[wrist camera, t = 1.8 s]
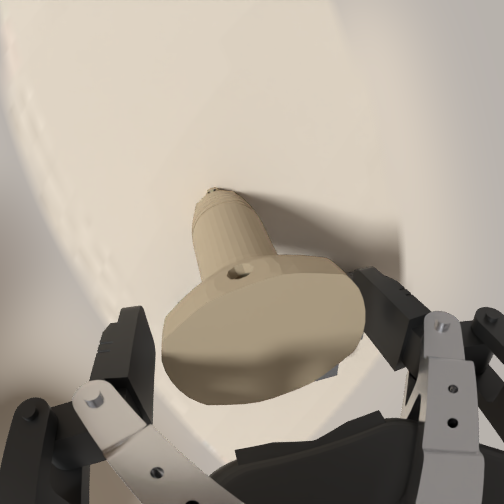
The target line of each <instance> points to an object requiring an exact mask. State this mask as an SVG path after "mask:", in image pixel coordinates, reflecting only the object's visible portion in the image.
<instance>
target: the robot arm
mask: <svg viewBox="0 0 504 504" xmlns="http://www.w3.org/2000/svg"><path fill="white" fill-rule="evenodd" d="M352 281H353V282H354V283H355V284H356V286H357V287H358V288H359V290H360V292H361V295H362V297H363V300H364V306H365V326H364V332H365V333H366V335H367V336H368V337H369V338H370V340H371V341H372V342H373V344H374V345H375V346H376V347H377V349H378V350H379V351H380V353H381V354H382V355H383V357H384V358H385V359H386V360H387V362H388V363H389V364H390V366H391V367H392V368H393V370H394V371H397V370H399V369H402V368H404V367H406V368H407V369H408V372H407V375H406V382H405V391H404V398H403V404H402V411H401V416H400V418H386V419H384V418H383V416H382V415H381V413H380V411H379V410H378V411H375V412H373V413H370V414H367V415H365V416H362V417H359V418H357V419H354V420H351V421H348V422H346V423H344V424H343V425H341V426H339V427H338V428H336V429H334V430H333V431H331V432H329V433H327V434H326V435H324V436H322V437H320V438H319V439H317V440H314V441H302V442H273V443H268V444H264V445H259V446H254V447H249V448H243V449H238V450H235V453H236V458H237V460H234V461H232V462H230V463H228V464H226V465H224V466H222V467H220V468H219V469H217V470H216V471H214V472H213V473H212V474H211V475H210V476H208V475H206V474H205V473H204V472H203V471H202V470H200V469H199V468H198V467H197V466H196V465H195V464H193V463H192V462H191V461H190V460H189V459H188V458H187V457H185V456H184V455H183V454H182V453H181V452H180V451H179V450H178V449H176V447H175V446H173V445H172V444H171V443H170V442H169V441H168V440H167V439H166V438H165V437H164V436H163V435H162V434H161V433H160V432H159V431H158V430H157V429H156V428H155V427H154V426H153V425H152V424H153V394H154V372H155V345H154V340H153V337H152V334H151V331H150V328H149V325H148V322H147V319H146V315H145V312H144V309H143V307H142V306H134V307H127V308H122V309H121V311H120V315H119V319H118V322H117V323H110V325H109V326H108V327H107V328H106V329H105V331H104V332H103V334H102V337H101V340H100V345H99V347H98V353H97V354H96V358H95V361H94V365H93V369H92V373H91V376H90V380H89V382H87V383H85V384H83V385H82V386H80V387H79V388H78V389H77V390H76V392H75V393H74V395H73V399H72V401H71V402H68V403H64V404H61V405H58V406H55V407H50V406H49V405H48V403H47V402H46V401H45V400H44V399H41V398H30V399H27V400H25V401H24V402H22V403H21V404H20V405H19V406H18V407H17V409H16V411H15V413H14V416H13V420H12V423H11V427H10V430H9V434H8V438H7V442H6V446H5V450H4V454H3V458H2V463H1V468H0V504H89V477H90V465H91V464H94V463H98V462H101V461H104V460H107V461H108V462H109V464H110V465H111V466H112V468H113V469H114V470H115V471H116V473H117V474H118V475H119V477H120V478H121V479H122V480H123V482H124V483H125V484H126V485H127V487H128V488H129V489H130V490H131V491H132V492H133V494H134V495H135V496H136V497H137V498H138V499H139V500H140V502H141V503H142V504H504V451H502V450H499V449H496V448H492V447H489V446H486V445H483V444H480V443H479V422H478V421H479V418H478V407H479V408H480V410H481V411H482V412H483V414H484V415H485V417H486V418H487V419H488V420H489V422H490V423H491V425H492V426H493V428H494V429H495V430H496V432H497V433H498V435H499V436H500V438H501V439H502V440H503V442H504V382H503V381H502V379H501V378H500V377H499V376H498V375H497V374H496V372H495V371H494V370H493V369H492V368H491V367H490V366H489V362H490V360H491V358H492V356H493V354H495V355H496V356H497V358H498V359H499V360H500V361H501V362H502V363H503V364H504V315H503V314H502V313H501V312H499V311H498V310H496V309H493V308H489V307H483V308H479V309H478V310H477V311H476V314H475V316H474V319H473V320H472V321H463V322H459V321H458V319H457V318H456V317H454V316H453V315H451V314H449V313H447V312H442V311H434V312H431V311H430V310H429V309H428V308H427V307H426V306H424V305H423V304H422V303H421V302H420V301H419V300H418V299H417V298H416V297H414V296H413V295H411V293H410V292H409V291H408V290H407V289H405V288H404V287H403V286H402V285H401V284H400V283H399V282H397V281H396V280H394V279H391V278H389V277H387V276H384V275H383V274H381V273H380V272H379V271H378V270H377V269H376V268H374V267H367V268H362V269H357V270H355V271H354V272H353V277H352Z"/></svg>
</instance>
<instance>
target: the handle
mask: <svg viewBox="0 0 504 504" xmlns="http://www.w3.org/2000/svg"><path fill="white" fill-rule="evenodd" d="M192 239H193V246H194V250H195V254H196V258H197V262H198V266H199V271H200V275H201V280H202V283H200V284H199V285H198V286H196V287H195V288H194V289H193V290H192V291H191V292H190V293H189V294H187V295H186V296H185V297H184V298H183V299H182V300H181V301H180V302H179V303H178V304H177V305H176V306H175V307H174V308H173V310H172V311H171V312H170V313H169V314H168V315H167V316H166V318H165V321H164V327H163V333H162V350H161V351H162V363H163V366H164V369H165V371H166V373H167V375H168V376H169V378H170V380H171V381H172V383H173V384H174V385H175V386H176V387H177V388H178V389H179V390H180V391H181V392H182V393H184V394H185V395H186V396H188V397H189V398H191V399H193V400H195V401H197V402H200V403H203V404H206V405H233V404H248V403H255V402H261V401H264V400H268V399H272V398H275V397H277V396H280V395H283V394H286V393H288V392H291V391H294V390H296V389H299V388H301V387H303V386H306V385H308V384H310V383H312V382H314V381H315V380H317V379H318V378H320V377H322V376H323V375H325V374H326V373H327V372H329V371H330V370H331V369H332V368H334V367H335V366H336V365H338V364H339V363H340V362H341V361H343V360H344V359H345V358H346V357H347V356H349V355H350V354H351V353H352V352H353V351H354V350H355V349H356V347H357V345H358V343H359V341H360V339H361V337H362V334H363V331H364V326H365V306H364V300H363V297H362V295H361V292H360V290H359V288H358V287H357V286H356V284H355V283H354V282H353V281H352V280H351V279H350V278H349V277H348V276H347V274H346V273H345V272H344V271H343V270H342V269H341V268H340V267H339V266H337V265H336V264H335V263H334V262H332V261H331V260H330V259H328V258H323V257H315V256H305V255H278V254H277V252H276V251H275V249H274V247H273V245H272V243H271V241H270V238H269V236H268V234H267V232H266V230H265V228H264V226H263V224H262V222H261V220H260V218H259V216H258V215H257V213H256V212H255V211H254V209H253V208H252V207H251V206H250V205H249V204H248V203H247V202H246V201H245V200H244V199H243V198H241V197H240V196H239V195H238V194H237V193H235V192H234V191H225V190H219V189H218V188H216V187H214V188H210V189H209V190H207V194H206V196H205V197H203V198H202V200H201V201H200V202H198V203H197V204H196V208H195V213H194V217H193V223H192Z"/></svg>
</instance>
